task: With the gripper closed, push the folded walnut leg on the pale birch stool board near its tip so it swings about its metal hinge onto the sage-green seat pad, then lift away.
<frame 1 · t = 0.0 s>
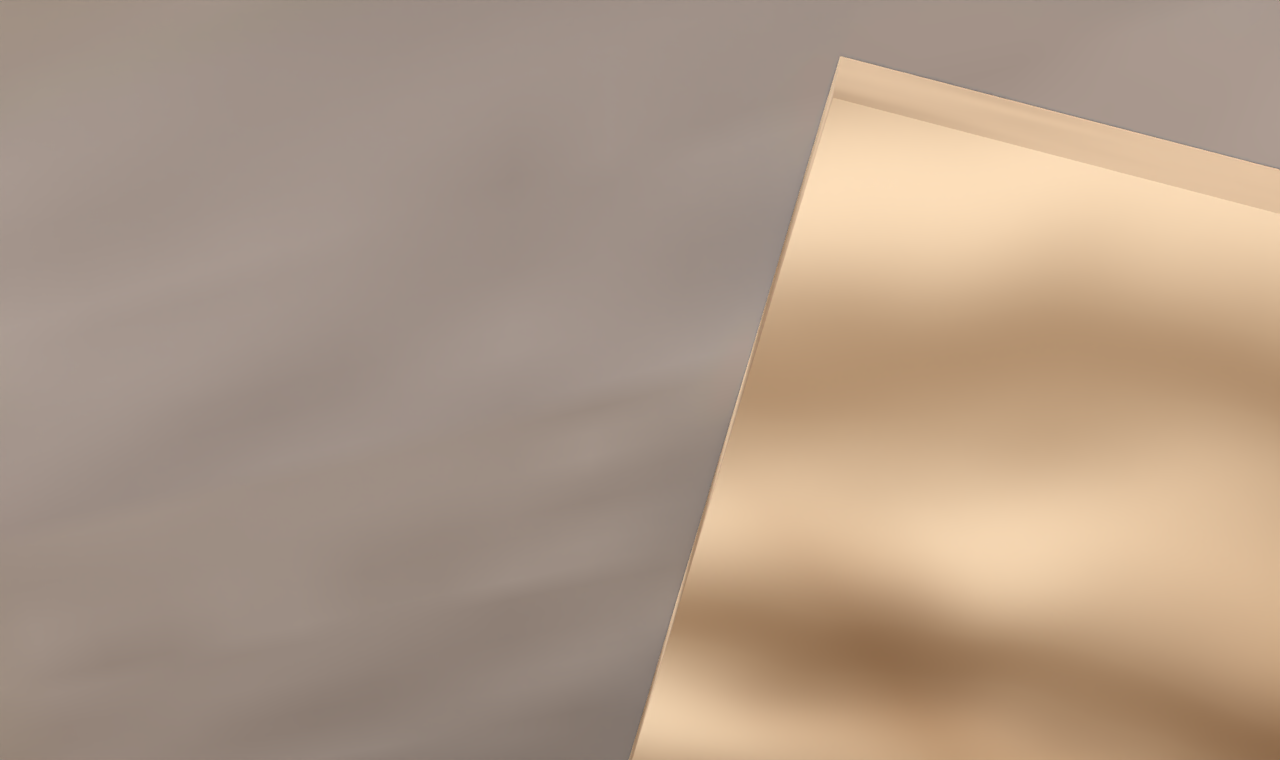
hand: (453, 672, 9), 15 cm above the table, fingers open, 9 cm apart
stool board: (1216, 682, 26), on the table
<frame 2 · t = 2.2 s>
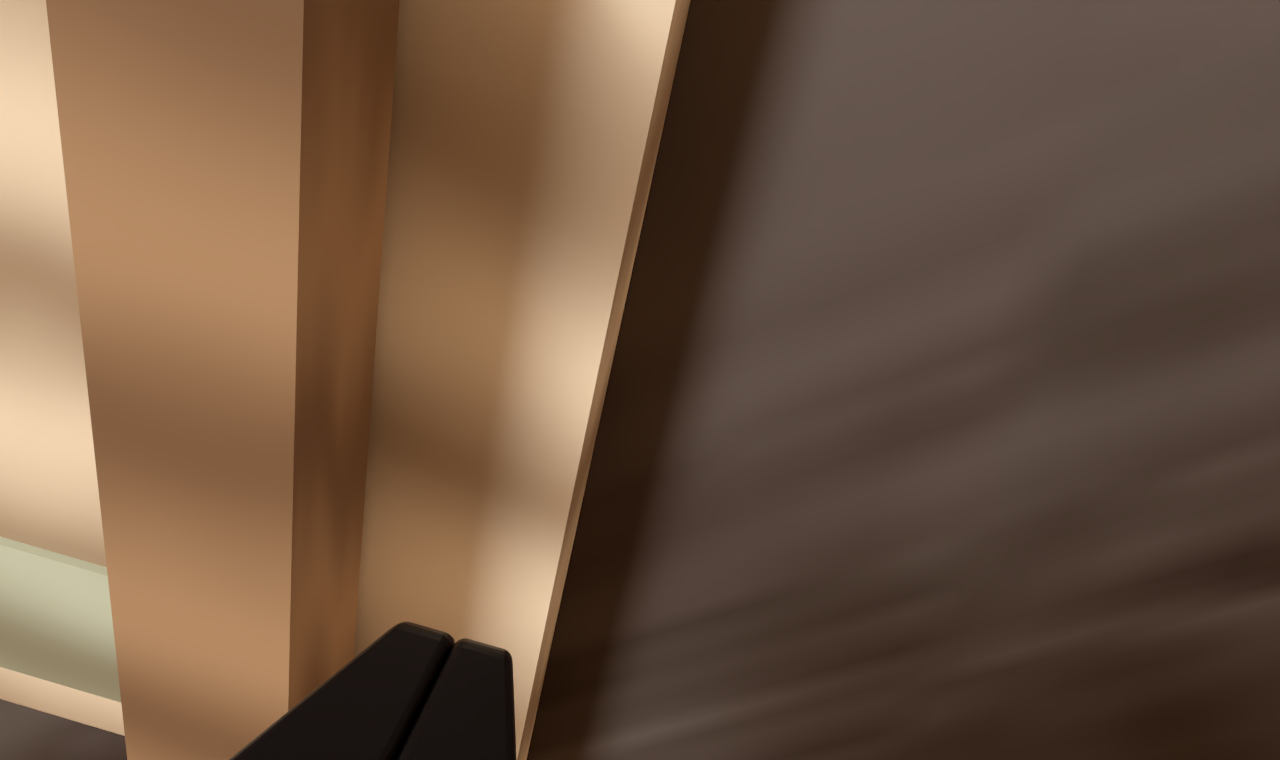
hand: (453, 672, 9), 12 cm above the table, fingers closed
stool leg: (242, 444, 18), point 4 cm above the table, hinge at 0.0°
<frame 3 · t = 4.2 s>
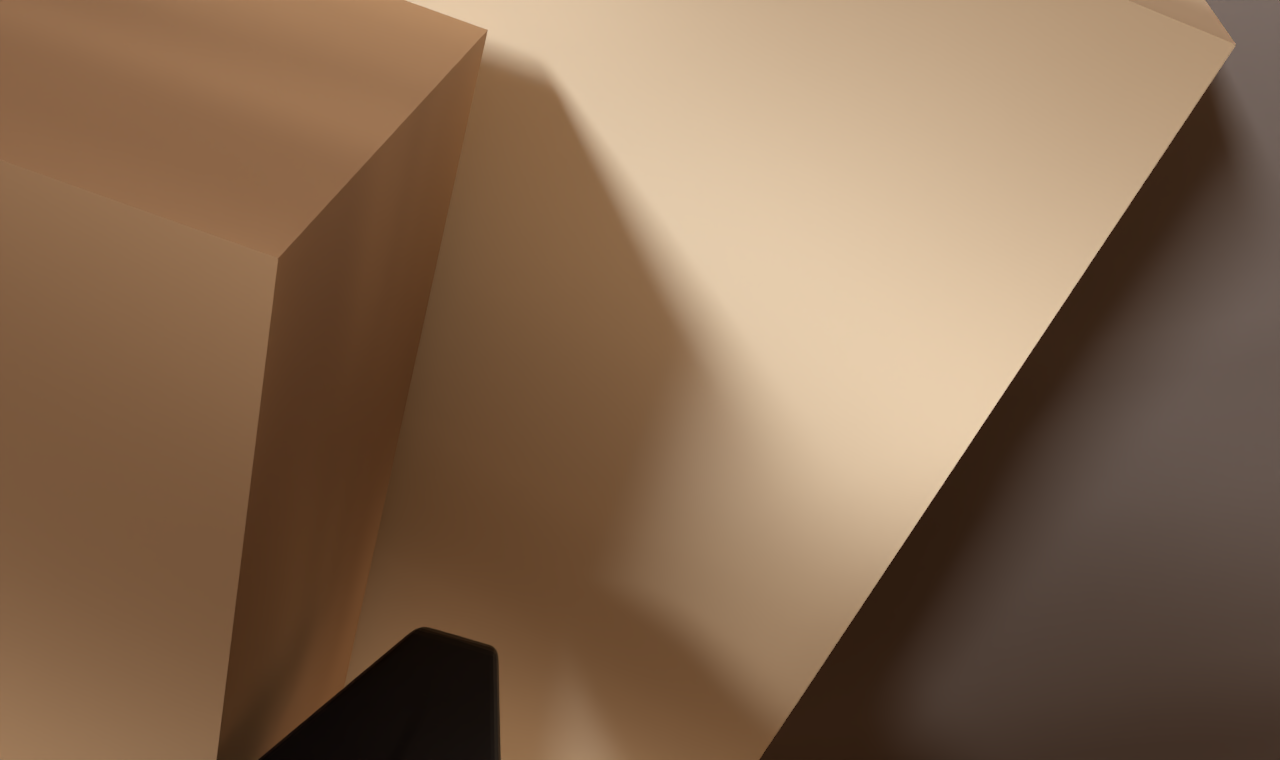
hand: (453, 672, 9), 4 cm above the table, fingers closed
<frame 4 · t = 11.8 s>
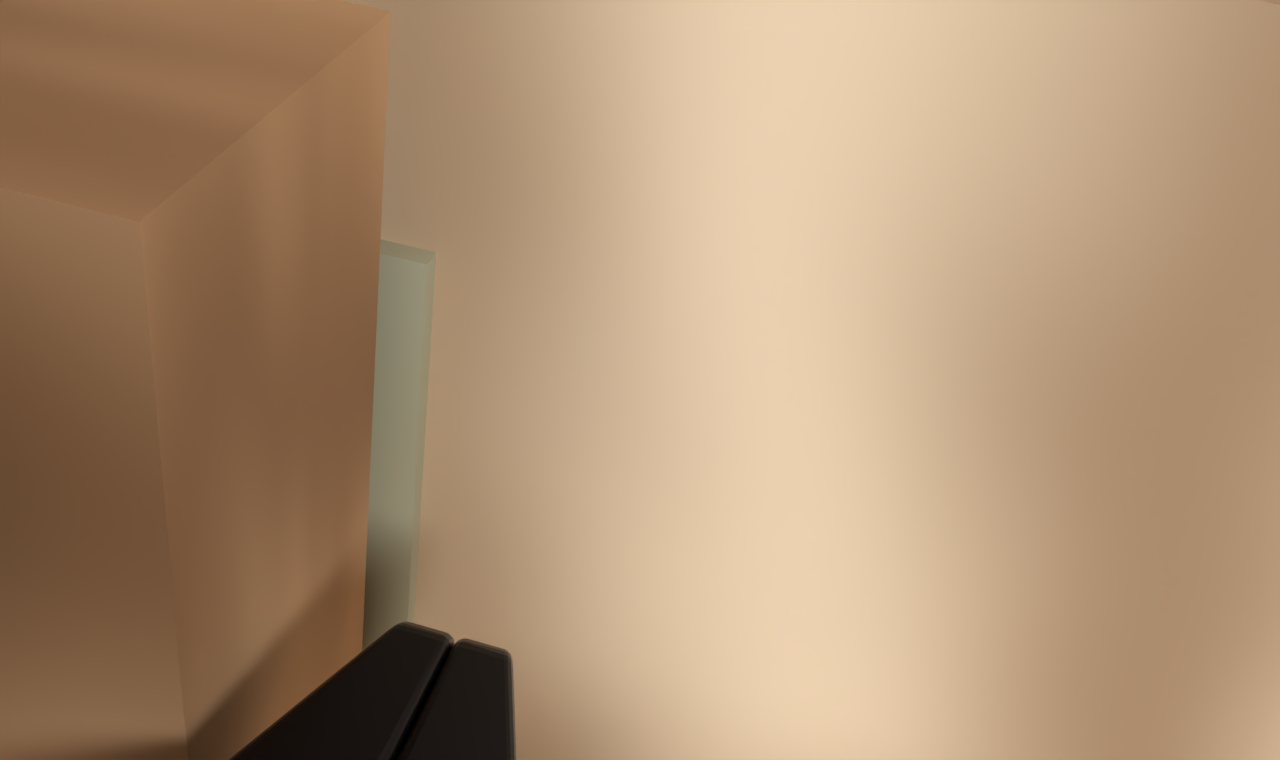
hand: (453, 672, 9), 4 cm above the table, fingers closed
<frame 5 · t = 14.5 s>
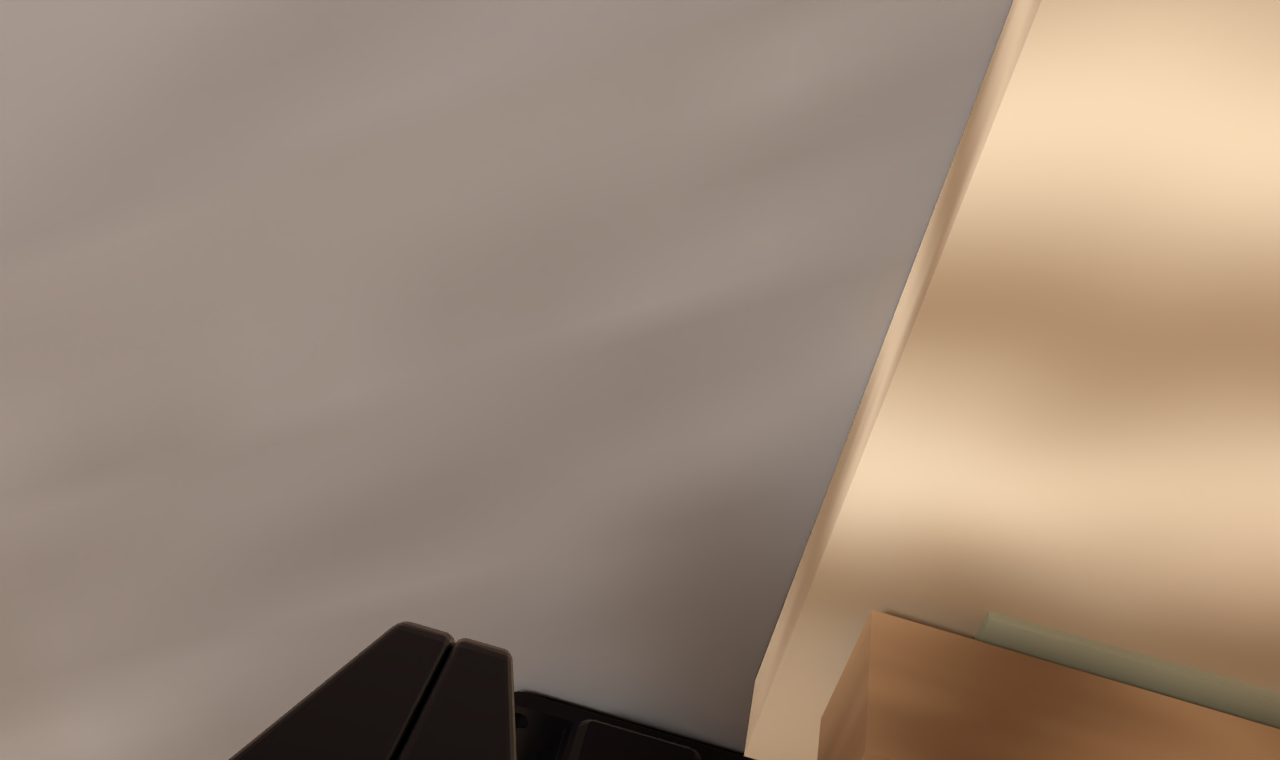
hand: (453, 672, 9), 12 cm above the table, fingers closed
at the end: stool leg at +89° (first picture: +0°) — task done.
